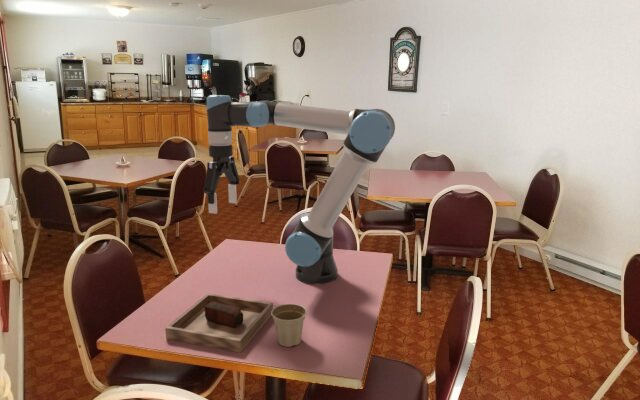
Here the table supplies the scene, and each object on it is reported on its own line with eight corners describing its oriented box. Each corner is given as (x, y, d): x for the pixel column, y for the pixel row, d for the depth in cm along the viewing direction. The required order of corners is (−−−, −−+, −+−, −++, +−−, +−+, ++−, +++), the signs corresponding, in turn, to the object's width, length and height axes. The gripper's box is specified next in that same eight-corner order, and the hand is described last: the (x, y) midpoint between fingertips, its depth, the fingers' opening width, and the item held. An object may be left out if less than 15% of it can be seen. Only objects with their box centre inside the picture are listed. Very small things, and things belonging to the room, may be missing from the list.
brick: (204, 321, 131) (204, 306, 130) (213, 315, 135) (212, 300, 133) (236, 329, 127) (235, 314, 126) (244, 322, 130) (243, 307, 129)
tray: (273, 313, 138) (273, 303, 137) (240, 352, 117) (239, 341, 117) (208, 303, 144) (207, 293, 143) (166, 338, 123) (165, 327, 123)
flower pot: (272, 332, 127) (271, 303, 125) (305, 331, 128) (305, 302, 126) (271, 351, 118) (270, 321, 116) (307, 350, 119) (307, 319, 117)
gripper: (228, 139, 160) (230, 198, 165) (188, 148, 137) (193, 216, 142) (248, 140, 158) (249, 200, 163) (211, 149, 135) (214, 218, 140)
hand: (223, 207), depth 153 cm, fingers open, 13 cm apart
